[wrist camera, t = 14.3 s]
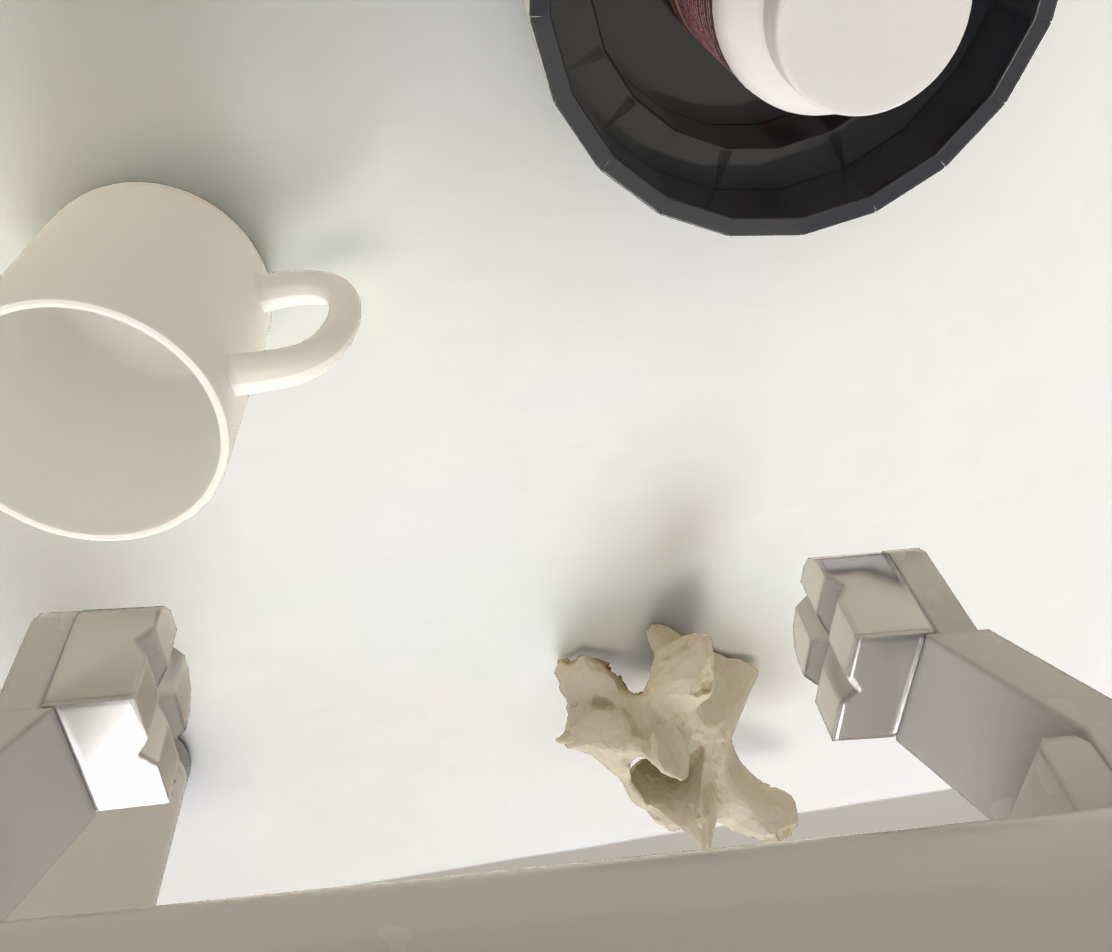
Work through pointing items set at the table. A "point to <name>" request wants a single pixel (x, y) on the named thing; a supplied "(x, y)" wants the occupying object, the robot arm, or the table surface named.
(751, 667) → the bone
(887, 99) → the pill bottle
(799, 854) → the robot arm
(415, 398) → the table surface
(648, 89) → the bowl
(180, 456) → the cup
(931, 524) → the table surface
